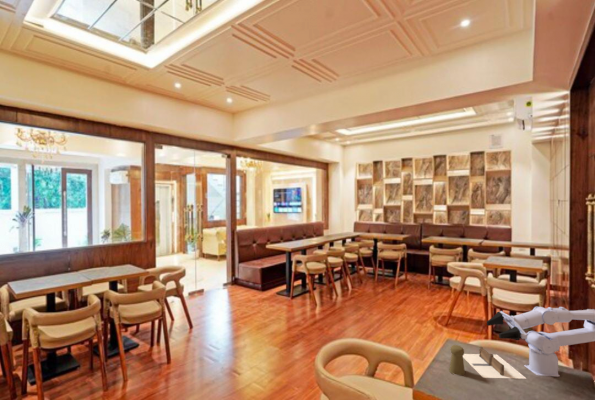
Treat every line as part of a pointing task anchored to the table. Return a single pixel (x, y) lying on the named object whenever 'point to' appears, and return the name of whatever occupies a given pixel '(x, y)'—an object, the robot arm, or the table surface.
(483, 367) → the card
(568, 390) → the table surface
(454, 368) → the cork
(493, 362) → the fence gate
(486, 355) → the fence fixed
